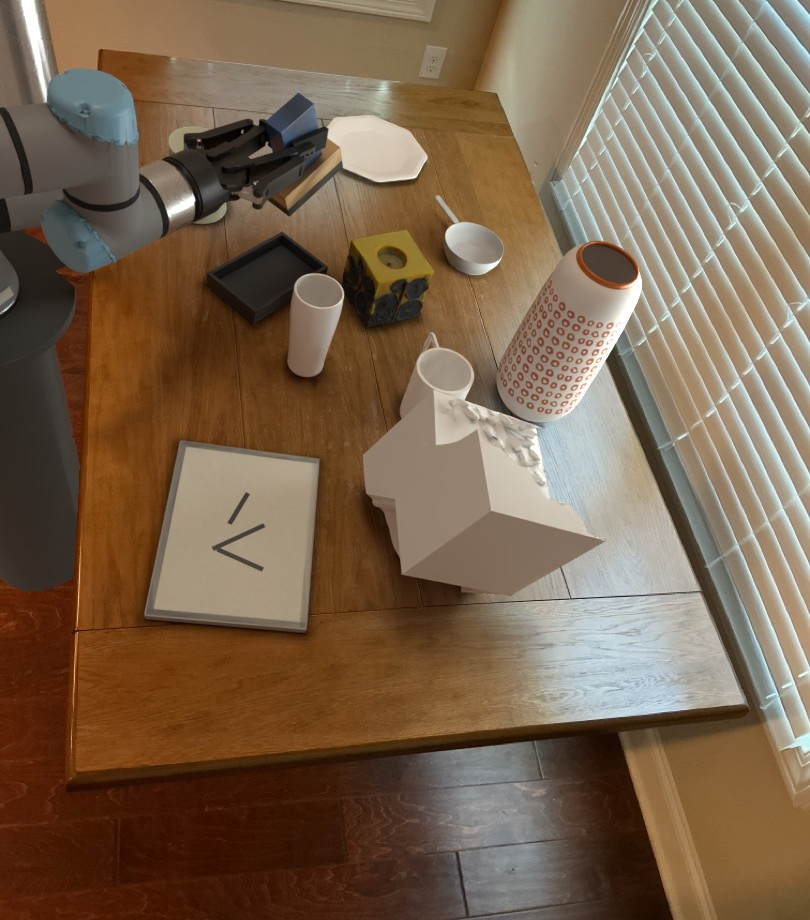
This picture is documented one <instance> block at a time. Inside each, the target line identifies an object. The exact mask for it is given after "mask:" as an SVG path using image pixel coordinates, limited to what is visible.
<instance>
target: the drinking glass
mask: <svg viewBox="0 0 810 920" xmlns="http://www.w3.org/2000/svg"><path fill="white" fill-rule="evenodd" d="M344 299H345V292H344V290H343V288H342V286H341V283H339V282H338V281H337V280H336V279H335V278H333V277H331V276H329V275H328V274H327V275H324V274H318V273H311V274H306V275H304V276H302V277H300V278H299V279H298V280H297V281H296V283H295V285H294V290H293V294H292V299H291V301H290V306H289V307H290V309H289V329H288V331H289V332H288V353H287V358H286V362H287V366H288V368H289V370H290V371H291V372H292V373H293V374H295V375H296V376H298V377H302V378H312V377H316V376H317V375H319V374H320V373H322V371H323V370H324V369H323V368H324V367H325V361H326V358H327V355H328V352H329V349H330V347H331V344H332V341H333V338H334V335H335V332H336V329H337V327H338V324H339V321H340V318H341V314H342V309H343V305H344Z"/></svg>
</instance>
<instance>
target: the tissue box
mask: <svg viewBox="0 0 810 920" xmlns="http://www.w3.org/2000/svg"><path fill="white" fill-rule="evenodd" d="M537 429H545V427H541V426H539V425H536V424H535V423H532V422H529V421H526V420H523V419H520V418H518V417H517V418H516V417H514V416H511V415H508V414H504V413H502V412H499V411H494V410H492V409H489V408H487V407H485V406H482V405H479V404H476V403H473V402H470V401H467V400H462V399H459V398H456V397H453V396H450V395H447V394H444V393H441V392H438V391H436V390H433V391H431V392H430V393H429V394H428V395H427V396H426V397H425V398H424V399H423V400H422V401H421V402H420V403H419V404H417V405H416V406H415V407H414V408H413V409H412V410H411V411H410V412H409V413H408V414H407V415H406V416H405V417H403V418H401V419H400V420H399V421H398V422H397V423H396V424H394V425H393V427H391V429H389V430H388V431H387V432H386V433H384V435H383V436H382V437H380V439H378V441H377V442H375V443H374V444H373V445H372V446H371V447H370V448H369V449H368V450H366V452H364V453H363V455H362V461H363V464H362V465H363V476H364V477H363V478H364V487H365V494H366V495H367V496H368V497H370V498H371V499H372V502H371V503H372V505H373V506H374V507H377V508H379V509H380V510H381V511H382V512H383V513H384V517H385V521H386V524H387V526H388V529H389V534H390V539H391V543H392V546H393V549H394V550H395V552H396V553H397V556H398V557H399V559H400V571H401V575H402V576H406V577H411V578H412V577H413V578H418V579H423V580H427V581H433V582H439V583H444V584H447V585H454V586H458V587H459V586H460V592H461V593H473V594H490V595H504V596H510V597H511V596H513V595H515V594H516V593H518V592H520V591H521V590H523V589H526V587H529V586H530V585H532V584H534V583H535V582H537V581H539V580H541V579H542V578H544V577H546V576H548V575H550V574H551V573H553V572H555V571H556V570H558V569H560V568H562V567H564V566H565V565H566V564H569V563H571V562H572V561H573V560H575V559H577V558H579V557H581V556H582V555H583V556H584V554H586V553H588V552H590V551H591V550H592V549H595V548H596V547H598V546H601V545H602V544H603V543H605V542H607V539H606V537H603V536H602V537H601V536H595V535H593V534H592V533H590V532H589V531H588V530H587V526H586V525H585V524H584V523H583V519H582V518H581V517H580V516H579V514H578V513H577V512H576V511H575V509H573V508H572V504H571V503H567V502H560V501H559V500H557V499H553V498H551V495H550V491H549V487H548V482H547V477H546V470H545V469H544V462H543V456H542V452H541V447H540V442H539V435H538V433H537V432H538V431H537Z"/></svg>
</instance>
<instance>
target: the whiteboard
mask: <svg viewBox="0 0 810 920" xmlns="http://www.w3.org/2000/svg"><path fill="white" fill-rule="evenodd" d="M320 460H321V459H320V458H317V457H310V456H303V455H294V454H288V453H287V454H286V453H279V452H272V451H266V450H265V451H264V450H257V449H249V448H241V447H234V446H226V445H219V444H213V443H212V444H211V443H204V442H197V441H190V440H181V439H180V441H179V443H178V448H177V452H176V458H175V462H174V467H173V472H172V477H171V482H170V487H169V492H168V495H167V501H166V506H165V511H164V516H163V521H162V525H161V531H160V535H159V539H158V545H157V549H156V554H155V559H154V563H153V569H152V574H151V579H150V583H149V588H148V593H147V597H146V603H145V606H144V607H145V608H144V612H143V618H144V619H145V620H152V621H163V622H174V623H185V624H198V625H208V626H220V627H221V626H222V627H230V628H231V627H234V628H244V629H256V630H268V631H277V632H289V633H301V634H302V633H303V634H305V633H306V632H307V630H308V623H309V622H308V621H309V609H310V608H309V607H310V594H311V593H310V592H311V581H312V569H313V567H312V566H313V555H314V553H313V552H314V542H315V541H314V540H315V529H316V527H315V525H316V513H317V502H318V501H317V499H318V488H319V475H320Z"/></svg>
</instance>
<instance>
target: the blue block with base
mask: <svg viewBox="0 0 810 920" xmlns="http://www.w3.org/2000/svg"><path fill="white" fill-rule="evenodd" d="M265 120H266V121H265V123H266V127H267V131H268V135H269V139H270V144H271V148H272V149H271V148H270V149H271V151H272V152H276V151H279V150H282V149H286V148H289V144H290V141H292V140H295V139H297V138H299V137H301V136H304V135H306V134H308V133H310V132H312V131H315V130H317V129H319V125H318V118H317V112H316V105H315V103H314V102H312V101H311V100H309V99H308V98H307V97H305V95H303V94H302V93H300V92H297V93H296V94H295V95H293V97H292V98H290V99H289V100H288V101H287V102H285V103H284V104H283V105H282V106H281V107H280V108H279V109H278V110H277V111H275V112H274V113H272V115H270V116H269V117H268V118H267V119H265ZM272 152H271V153H272ZM342 168H343V163H342V155H341V148H340V147H339V146H338V145H336V144H335V143H334V142H332V141H331V140H330V139H328V138H327V142H326V147H325V148H323V149H321V150H319V151H317V152H315V153H314V156H313V157H312V158H309V159H307V160H306V161H305V163H304V170H303V176H302V178H301V179H299V180H298V181H296V182H295V183H293V184H291V185H290V186H288V187H287V188H285V189H284V190H282V191H281V192H279V193H277V194H276V195H274V196H273V197H271V198H270V199H268V200H267V201H268V202H269V203H271V204H272V205H273V206H274V207H276V208H277V209H278V210H279V211H281V212H282V213H283V214H285V215H286V216H287V217H289V218H290V217H292V215H293V214H294V213H295V212H297V211H298V210H299V209H300V208H301V207H302V206H303V205H305V203H306V202H308V201H309V200H310V199H311V198H312V197H313V196H314V195H315V194H316V193H317V192H318V191H319V190H320V189H321V188H322V187H324V186H325V185H326V184H327V183H328V182H329V181H330V180H331V179H332V178H333V177H334V176H335V175H337V174H338V173H340V171H341V170H343V169H342Z"/></svg>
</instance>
